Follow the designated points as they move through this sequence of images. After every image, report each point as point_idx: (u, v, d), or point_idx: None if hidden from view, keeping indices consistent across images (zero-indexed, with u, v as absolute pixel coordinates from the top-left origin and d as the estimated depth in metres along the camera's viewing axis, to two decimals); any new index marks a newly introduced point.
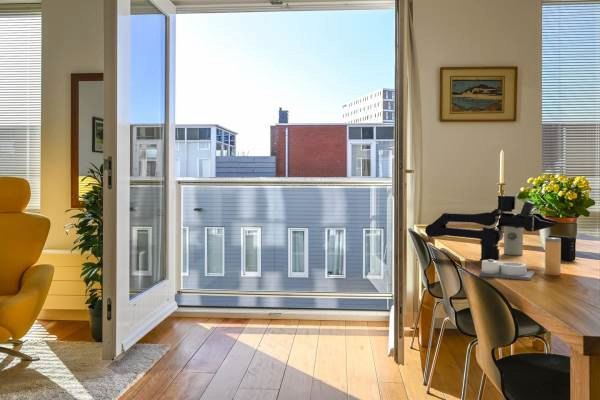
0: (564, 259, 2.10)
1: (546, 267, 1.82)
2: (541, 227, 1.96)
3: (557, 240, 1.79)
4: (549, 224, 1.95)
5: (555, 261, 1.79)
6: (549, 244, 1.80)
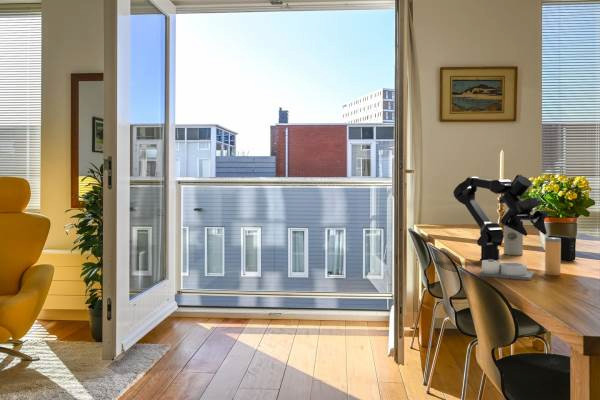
0: (564, 259, 2.10)
1: (546, 267, 1.82)
2: (515, 228, 1.91)
3: (557, 240, 1.79)
4: (522, 231, 1.88)
5: (555, 261, 1.79)
6: (549, 244, 1.80)
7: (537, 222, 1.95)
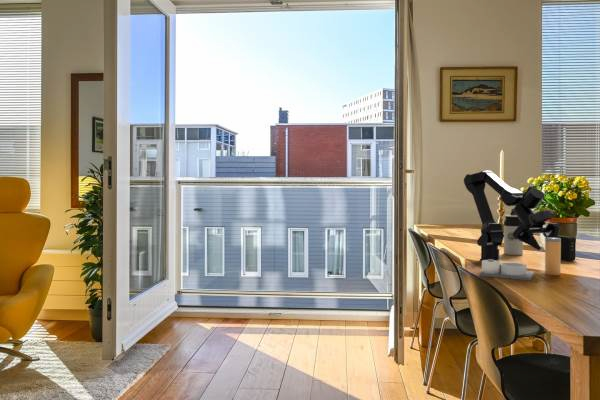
0: (564, 259, 2.10)
1: (546, 267, 1.82)
2: (528, 242, 1.85)
3: (557, 240, 1.79)
4: (535, 245, 1.83)
5: (555, 261, 1.79)
6: (549, 244, 1.80)
7: (550, 235, 1.89)
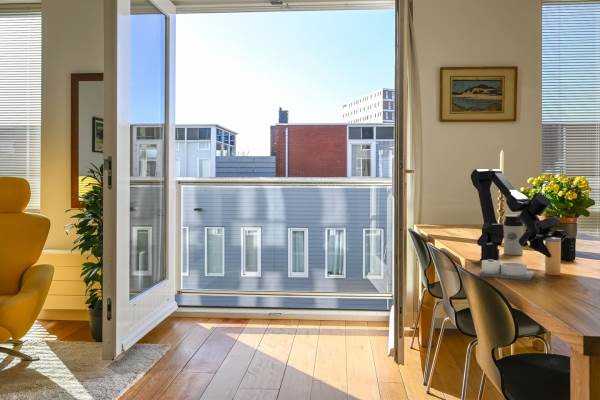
0: (564, 259, 2.10)
1: (546, 267, 1.82)
2: (538, 249, 1.83)
3: (557, 240, 1.79)
4: (545, 253, 1.81)
5: (555, 261, 1.79)
6: (549, 244, 1.80)
7: None
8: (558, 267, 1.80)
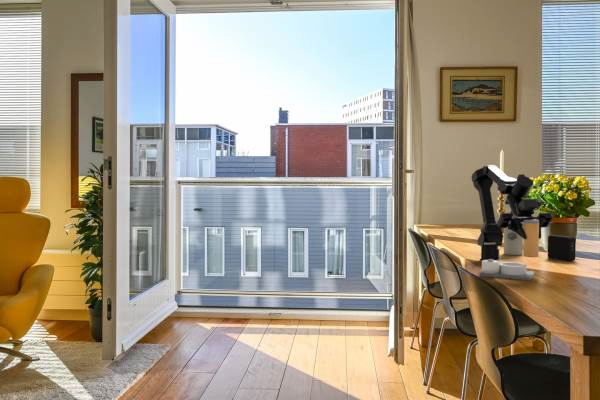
0: (564, 259, 2.10)
1: (523, 249, 1.80)
2: (516, 231, 1.82)
3: (533, 221, 1.77)
4: (521, 234, 1.79)
5: (531, 243, 1.77)
6: (525, 225, 1.79)
7: None
8: (534, 249, 1.77)
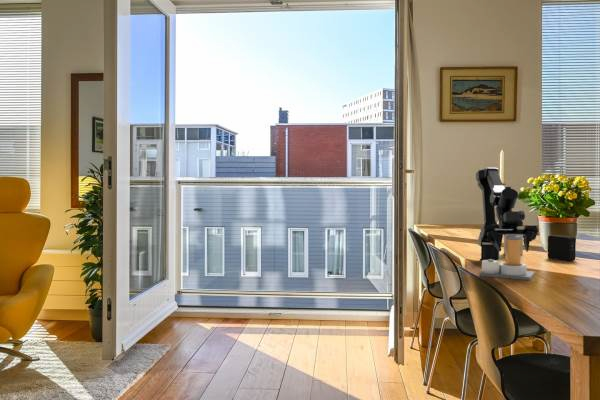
0: (564, 259, 2.10)
1: None
2: (493, 243, 1.83)
3: (513, 238, 1.77)
4: (497, 246, 1.80)
5: (511, 259, 1.78)
6: (506, 242, 1.79)
7: (524, 238, 1.82)
8: None
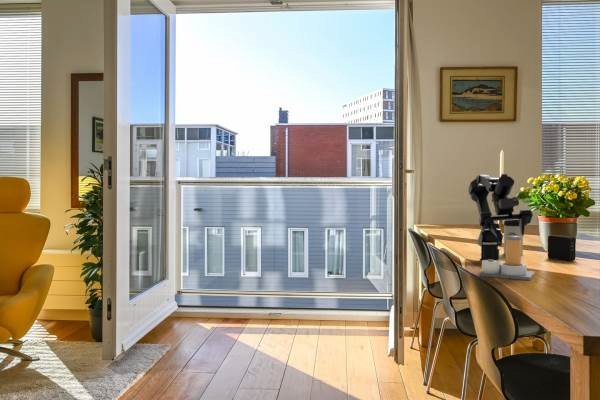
0: (564, 259, 2.10)
1: None
2: (490, 229, 1.93)
3: (513, 238, 1.77)
4: (494, 232, 1.90)
5: (511, 259, 1.78)
6: (506, 242, 1.79)
7: (520, 222, 1.91)
8: None
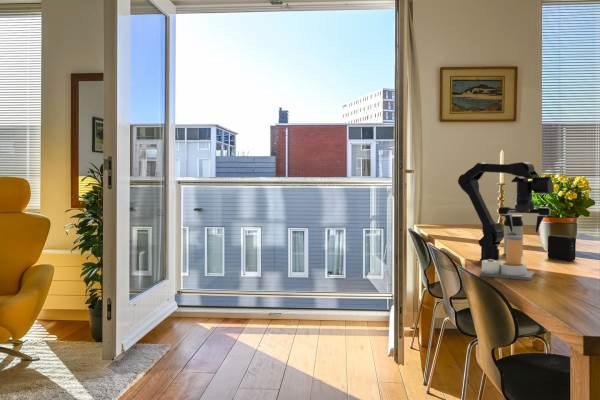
0: (564, 259, 2.10)
1: None
2: None
3: (514, 238, 1.77)
4: None
5: (511, 259, 1.78)
6: (507, 241, 1.79)
7: None
8: None
